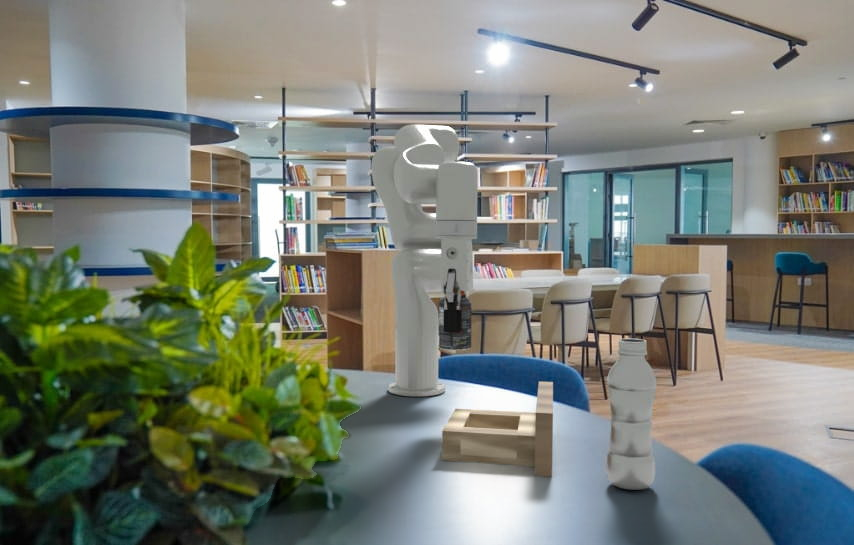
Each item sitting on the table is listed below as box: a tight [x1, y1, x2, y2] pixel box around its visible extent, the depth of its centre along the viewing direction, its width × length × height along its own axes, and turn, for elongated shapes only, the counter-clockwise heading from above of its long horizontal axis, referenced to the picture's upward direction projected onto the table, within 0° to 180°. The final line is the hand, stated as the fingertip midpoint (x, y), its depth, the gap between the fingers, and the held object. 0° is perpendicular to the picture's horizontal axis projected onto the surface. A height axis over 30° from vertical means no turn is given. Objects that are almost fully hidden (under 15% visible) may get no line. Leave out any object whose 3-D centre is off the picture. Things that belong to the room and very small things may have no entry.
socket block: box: [441, 408, 536, 467], centre depth 108 cm, size 14×14×4 cm
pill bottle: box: [438, 287, 473, 351], centre depth 124 cm, size 6×6×11 cm
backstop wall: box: [534, 381, 554, 477], centre depth 107 cm, size 22×2×9 cm, turn 169°
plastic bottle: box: [605, 338, 657, 491], centre depth 92 cm, size 6×7×20 cm
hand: (455, 328), depth 124 cm, fingers closed on pill bottle, 6 cm apart
